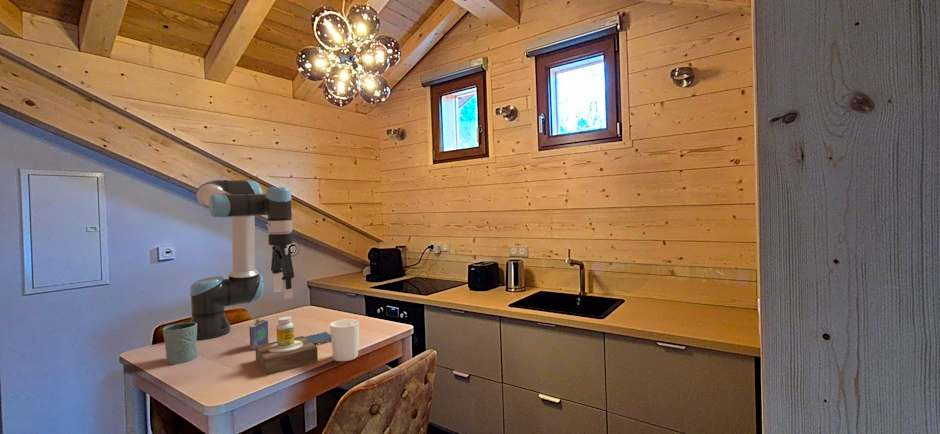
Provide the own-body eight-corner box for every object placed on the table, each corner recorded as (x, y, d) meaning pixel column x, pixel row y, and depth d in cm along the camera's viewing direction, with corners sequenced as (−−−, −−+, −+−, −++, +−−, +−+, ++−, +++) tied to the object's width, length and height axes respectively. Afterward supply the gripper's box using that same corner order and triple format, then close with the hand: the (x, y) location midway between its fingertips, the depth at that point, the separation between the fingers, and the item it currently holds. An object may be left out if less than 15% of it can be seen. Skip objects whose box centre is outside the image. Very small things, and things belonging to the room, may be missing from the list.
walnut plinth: (255, 360, 143) (255, 345, 143) (303, 349, 153) (303, 335, 152) (266, 375, 130) (265, 358, 130) (317, 361, 140) (317, 346, 140)
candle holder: (365, 352, 148) (364, 319, 147) (351, 363, 138) (350, 327, 138) (340, 351, 150) (339, 318, 149) (325, 361, 140) (323, 326, 140)
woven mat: (299, 342, 162) (299, 336, 162) (326, 335, 169) (326, 331, 169) (308, 348, 154) (308, 343, 154) (336, 342, 161) (335, 337, 161)
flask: (254, 350, 152) (253, 322, 152) (247, 350, 153) (246, 321, 152) (270, 342, 161) (269, 315, 161) (263, 342, 162) (262, 315, 161)
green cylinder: (173, 367, 139) (171, 331, 138) (158, 361, 143) (156, 327, 143) (205, 356, 147) (203, 323, 147) (189, 352, 152) (188, 320, 152)
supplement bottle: (286, 342, 145) (285, 315, 144) (297, 344, 143) (296, 316, 142) (273, 347, 140) (272, 319, 139) (285, 349, 138) (284, 320, 137)
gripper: (260, 231, 147) (262, 290, 148) (277, 235, 128) (280, 303, 129) (282, 230, 152) (284, 287, 153) (302, 234, 132) (305, 299, 133)
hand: (282, 295), depth 141 cm, fingers open, 13 cm apart
